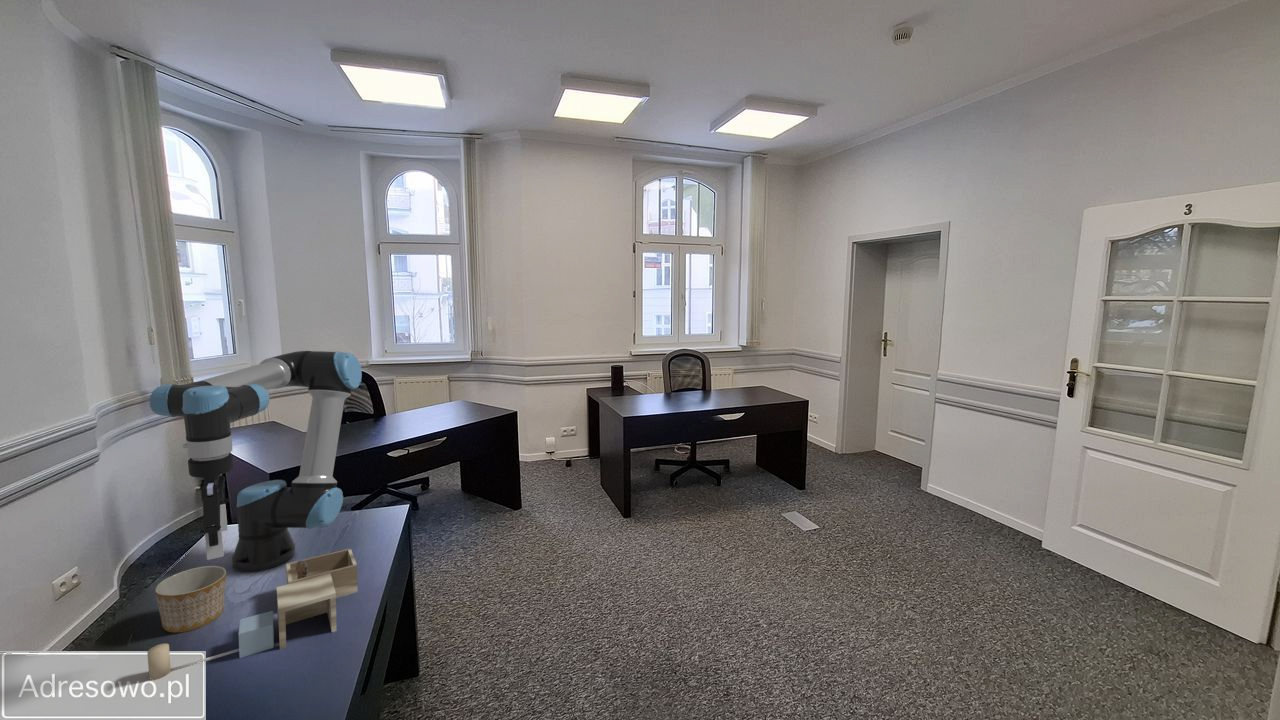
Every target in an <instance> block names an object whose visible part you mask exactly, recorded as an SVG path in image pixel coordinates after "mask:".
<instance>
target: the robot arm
mask: <svg viewBox="0 0 1280 720" xmlns="http://www.w3.org/2000/svg"><path fill="white" fill-rule="evenodd" d="M362 375H363V373H362V366H361V363H360V361H359V359H358V357H356V355H354V354H353V353H351V352H343V351H325V350H323V351H322V350H321V351H318V350H300V351H299V350H297V351H293V352H288V353H284V354H280V355H276V356H272V357H269V358H265V359H263V360H262V361H261V362H259V364H256V365H253V366H252V365H251V366H249V367H244V368H241V369H238V370H234V371H230V372H226V373H223V374H219V375H216V376H213V377H209V378H205V379H202V380H198V381H193V382H189V383H186V384H177V383H176V384H174V383H173V384H162V385H159V386H157V387H156V388H155V389H154V390H153V391H152V392H151V394H150V397H149V399H148V401H149V407H150V409H151V411H152V413H154V414H156V415H158V416H161V417H162V416H164V417H171V418H176V417H177V418H180V417H181V418H183V420H184V421H183V422H184V429H185V440H186V443H183V445H182V448H183V449H187V457H188V458H189V459H188V460H187V467H188V474H189V476H190V477H192V478H196V479H197V478H198V479H199V478H202V479H201V481H200V482H201V483H200V484H199V489H200V492H201V501H202V512H203V513H202V514H203V516H202V517H203V529H201V530H199V534H200V535H202V534H204V538H205V539H204V540H205V541H204V542H205V550H206V560H207V561H209V560H214V559H219V558H222V557H225V556H224V555H225V554H224V541H223V532H226V531H228V519H227V508H226V506H227V505H226V504H227V503H230V498H229V497H226V496H227V494H226V492H225V483H226V476H223V475H225V474H227V473H229V472H231V471H232V470H233V469H234V456H233V453H232V452H233V437H232V430H231V423H234V422H237V421H239V420H243V419H247V418H248V417H253V416H256V415H257V414H259V413H261V412H263V411H265V410H266V409H267V408H268V406H269V404H270V401H271V400H270V399H271V398H270V394H269V392H268V390H269V389H273V390H276V389H277V390H278V389H281V388H282V389H283V388H286V387H302V388H303V387H304V388H307V392H308V394H309V395H310V396H311V397H312V399H311V406H310V412H309V417H308V422H307V429H306V434H305V440H304V447H303V451H302V458H301V463H300V470H299V474H298V476H297V477H296V478H294V480H291V486H289V487H287V485H288V484H287V482H286V481H285V480H284V479H273V480H268V481H267V480H266V481H262V482H259V483H255V484H253V485H252V484H251V485H248V486H247V487H246V488H243V489H241V491H239V492H238V494H237V498H236V499H237V501H236V506H235V507H236V511H237V528H238V529H237V530H238V532H237V533H238V540H237V544H236V547H235V549H234V552H233V554H232V557H231V558H232V559H231V566H232V569H233V570H235V571H238V572H244V573H245V572H247V573H248V572H257V571H263V570H267V569H270V568H271V569H272V568H274V567H277V566H279V565H281V564H284V563H285V562H287V561H289V560H290V559H292V558H293V557H294V556H295V555H296V543H295V541H294V539H293V537H292V535H291V534H290V531H289V529H292V528H293V529H298V528H299V529H301V528H302V529H309V530H311V529H321V528H325V527H328V526H330V525H331V524H332V523H333V522H334V521H335V520H336V518H337V517H338V515H339V513H340V511H341V509H342V506H343V501H344V495H343V491H342V489H341V488H339V487H337V486H338V481H337V480H336V479H335V478H334V476H333V475H334V469H335V462H336V455H337V449H338V443H339V437H340V430H341V425H342V424H341V423H342V418H343V411H344V405H345V400H346V399H347V398H349V397H351V395H352V390H355V389H357V388H359V386H360V384H361V382H362V377H363V376H362ZM288 528H289V529H288Z"/></svg>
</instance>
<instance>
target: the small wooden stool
mask: <svg viewBox="0 0 1280 720" xmlns="http://www.w3.org/2000/svg"><path fill="white" fill-rule="evenodd" d="M276 604H277V605H276V606H277V607H276V608H277V610H276V611H277V627H278V637H279V638H278V639H279V640H278V641H279V650H282V649H285V648H287V631H286V630H287V629H286V626H287V625H289V624H294V623H296V622H299V621H303V620H306V619H309V618H313V617H316V616H320V615H323V614H326V613H327V618H328V621H329V626H330V632H331V633H334V632H337V627H338V626H337V598H336V592H335V588H334V585H333V581H332V577H331V573H329V574H325V575H321V576H317V577H314V578H310V579H306V580H302V581H298V582H294V583H291V584H287V583H286V584H283V585H281V586H280V585H279V586H276Z"/></svg>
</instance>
